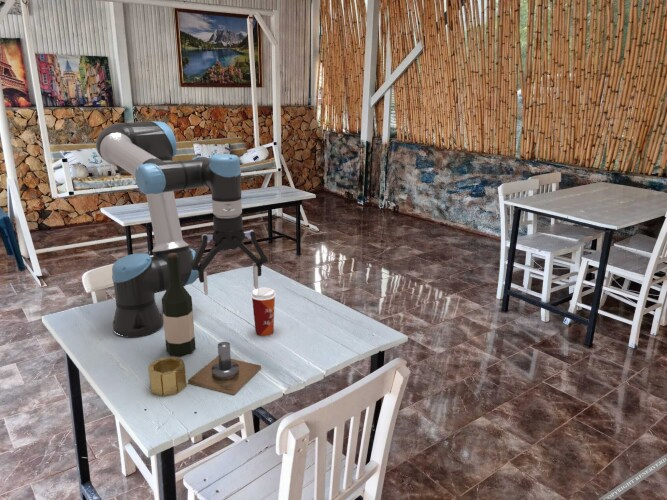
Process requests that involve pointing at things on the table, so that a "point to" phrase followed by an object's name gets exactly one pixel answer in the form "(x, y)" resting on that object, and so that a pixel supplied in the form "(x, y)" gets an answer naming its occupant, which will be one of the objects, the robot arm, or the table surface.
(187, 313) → the wine bottle
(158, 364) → the collar
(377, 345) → the table surface
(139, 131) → the robot arm
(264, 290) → the paper cup
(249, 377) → the doorknob
